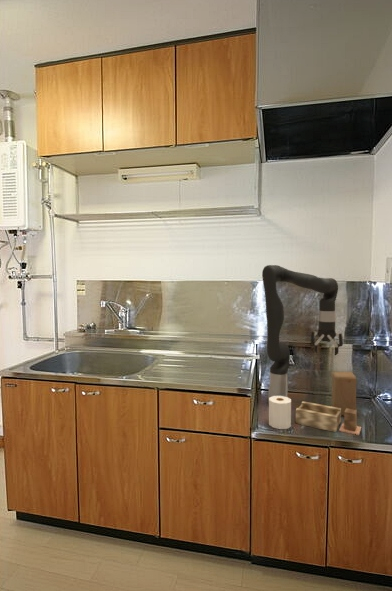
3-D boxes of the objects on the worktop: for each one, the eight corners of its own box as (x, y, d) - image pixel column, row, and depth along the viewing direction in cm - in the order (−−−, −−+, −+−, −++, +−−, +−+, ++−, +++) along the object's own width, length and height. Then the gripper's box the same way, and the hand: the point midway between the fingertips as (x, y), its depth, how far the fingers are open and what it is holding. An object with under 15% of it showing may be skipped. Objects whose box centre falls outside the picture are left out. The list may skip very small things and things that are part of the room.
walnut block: (344, 429, 155) (344, 411, 155) (345, 425, 160) (346, 408, 159) (355, 431, 153) (355, 414, 152) (356, 427, 157) (356, 410, 157)
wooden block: (356, 417, 170) (357, 377, 168) (334, 415, 172) (335, 376, 170) (351, 409, 179) (352, 371, 178) (330, 408, 181) (331, 370, 180)
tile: (339, 430, 155) (339, 429, 155) (342, 424, 162) (342, 423, 162) (358, 435, 151) (359, 433, 151) (361, 428, 158) (361, 426, 158)
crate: (295, 423, 163) (295, 409, 163) (302, 414, 174) (302, 401, 173) (336, 432, 154) (336, 417, 153) (340, 422, 164) (341, 408, 164)
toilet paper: (266, 419, 168) (267, 395, 167) (288, 420, 167) (288, 395, 166) (270, 429, 157) (270, 403, 157) (293, 429, 157) (293, 403, 156)
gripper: (309, 320, 165) (309, 353, 166) (341, 322, 158) (340, 357, 159) (313, 318, 172) (313, 350, 173) (344, 320, 164) (343, 353, 165)
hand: (326, 353), depth 166 cm, fingers open, 8 cm apart
